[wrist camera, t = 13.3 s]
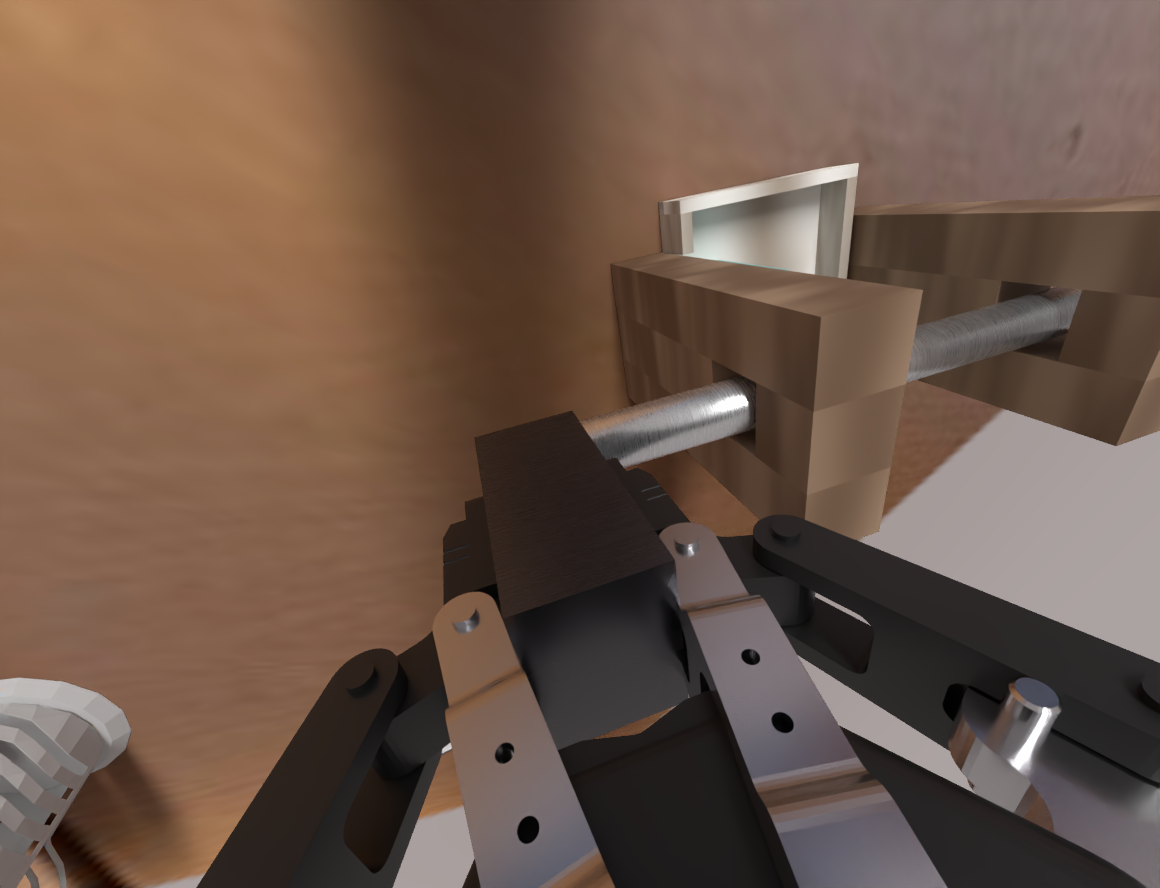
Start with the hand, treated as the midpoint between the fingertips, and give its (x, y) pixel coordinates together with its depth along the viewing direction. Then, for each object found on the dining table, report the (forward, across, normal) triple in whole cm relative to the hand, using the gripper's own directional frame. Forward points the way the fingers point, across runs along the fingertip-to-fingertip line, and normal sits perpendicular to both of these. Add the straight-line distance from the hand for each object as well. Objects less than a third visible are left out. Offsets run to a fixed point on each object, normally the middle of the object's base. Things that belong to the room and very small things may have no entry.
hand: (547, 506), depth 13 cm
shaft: (+4, -11, 0) cm, 12 cm away
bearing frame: (+15, -15, 0) cm, 21 cm away
